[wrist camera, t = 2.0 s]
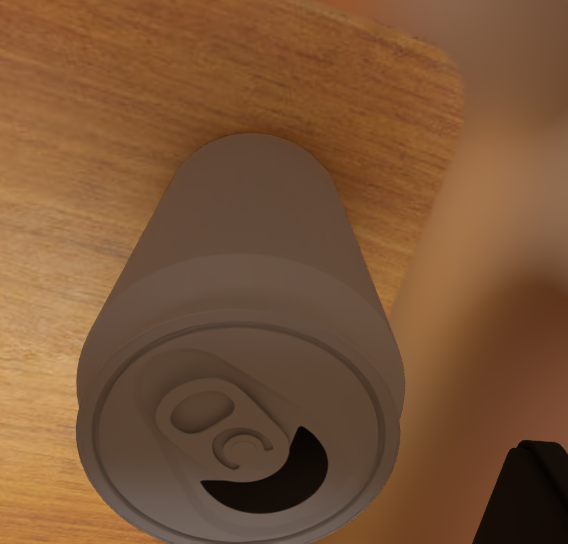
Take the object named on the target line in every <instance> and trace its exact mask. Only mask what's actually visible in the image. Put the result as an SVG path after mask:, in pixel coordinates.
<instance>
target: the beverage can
mask: <svg viewBox="0 0 568 544" xmlns="http://www.w3.org/2000/svg"><path fill="white" fill-rule="evenodd" d="M76 382H77V398H78V404H79V411H78V416H77V424H76V440H77V447H78V452H79V456H80V460H81V463H82V465H83V468H84V471H85V473H86V475H87V477H88V479H89V480H90V482H91V484H92V485H93V487H94V488H95V490H96V491H97V493H98V494H99V495H100V496H101V498H102V499H103V500H104V501H105V502H106V503H107V504H108V505H109V506H110V508H112V509H113V510H114V511H115V512H116V513H117V514H118V515H119V516H120V517H122V518H123V519H124V520H126V521H127V522H129V523H130V524H131V525H133V526H134V527H136V528H138V529H139V530H141V531H143V532H145V533H147V534H148V535H150V536H153V537H155V538H157V539H159V540H161V541H164V542H166V543H169V544H309V543H312V542H314V541H317V540H319V539H322V538H324V537H326V536H328V535H330V534H331V533H333V532H335V531H337V530H338V529H340V528H342V527H343V526H345V525H347V524H348V523H349V522H351V521H352V520H353V519H354V518H356V517H357V516H358V515H359V514H361V513H362V512H363V511H364V510H365V509H366V508H367V507H368V506H369V505H370V504H371V503H372V502H373V501H374V499H375V498H376V497H377V496H378V495H379V493H380V492H381V490H382V489H383V487H384V486H385V484H386V482H387V481H388V479H389V477H390V475H391V473H392V470H393V468H394V465H395V462H396V459H397V455H398V450H399V442H400V425H399V420H400V417H401V413H402V409H403V402H404V395H405V376H404V367H403V362H402V358H401V355H400V352H399V349H398V346H397V343H396V340H395V338H394V335H393V333H392V331H391V328H390V325H389V322H388V320H387V317H386V315H385V312H384V310H383V307H382V304H381V302H380V299H379V297H378V294H377V292H376V289H375V286H374V284H373V281H372V279H371V276H370V273H369V271H368V268H367V266H366V263H365V261H364V258H363V255H362V253H361V250H360V248H359V245H358V243H357V240H356V237H355V235H354V232H353V230H352V227H351V225H350V222H349V219H348V217H347V214H346V212H345V209H344V206H343V204H342V201H341V199H340V196H339V194H338V191H337V188H336V186H335V184H334V182H333V180H332V178H331V177H330V175H329V173H328V172H327V171H326V169H325V168H324V167H323V166H322V165H321V163H320V162H319V161H318V160H317V159H316V158H315V157H314V156H313V155H311V154H310V153H309V152H307V151H306V150H305V149H303V148H302V147H300V146H299V145H297V144H295V143H293V142H291V141H288V140H286V139H283V138H280V137H277V136H273V135H269V134H261V133H241V134H234V135H229V136H225V137H222V138H219V139H217V140H214V141H212V142H210V143H208V144H206V145H205V146H203V147H201V148H200V149H198V150H197V151H195V152H194V153H193V154H192V155H191V156H190V157H188V158H187V159H186V160H185V161H184V163H183V164H182V165H181V166H180V168H179V169H178V170H177V172H176V173H175V175H174V176H173V178H172V180H171V182H170V184H169V186H168V188H167V189H166V191H165V193H164V195H163V197H162V199H161V200H160V202H159V204H158V206H157V208H156V210H155V212H154V213H153V215H152V217H151V219H150V221H149V223H148V225H147V226H146V228H145V230H144V232H143V234H142V236H141V237H140V239H139V241H138V243H137V245H136V247H135V249H134V250H133V252H132V254H131V256H130V258H129V260H128V262H127V263H126V265H125V267H124V269H123V271H122V273H121V274H120V276H119V278H118V280H117V282H116V284H115V286H114V287H113V289H112V291H111V293H110V295H109V297H108V299H107V300H106V302H105V304H104V306H103V308H102V310H101V311H100V313H99V315H98V317H97V319H96V321H95V323H94V324H93V326H92V328H91V330H90V332H89V334H88V336H87V338H86V341H85V343H84V345H83V348H82V351H81V355H80V358H79V363H78V369H77V381H76Z"/></svg>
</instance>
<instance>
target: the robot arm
mask: <svg viewBox="0 0 568 544" xmlns="http://www.w3.org/2000/svg"><path fill="white" fill-rule="evenodd" d="M472 544H568V454H567V453H566V451H565V450H564V448H563V447H562V446H561V445H560V444H558V443H555V442H544V441H531V440H523V441H521V442H520V443H519V444H518V446H517V448H512V449H510V451H509V452H508V454H507V457H506V459H505V462H504V464H503V467H502V469H501V472H500V474H499V477H498V479H497V482H496V485H495V487H494V490H493V492H492V495H491V497H490V500H489V502H488V505H487V507H486V510H485V512H484V515H483V518H482V520H481V523H480V525H479V528H478V530H477V533H476V535H475V538H474V540H473V543H472Z"/></svg>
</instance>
